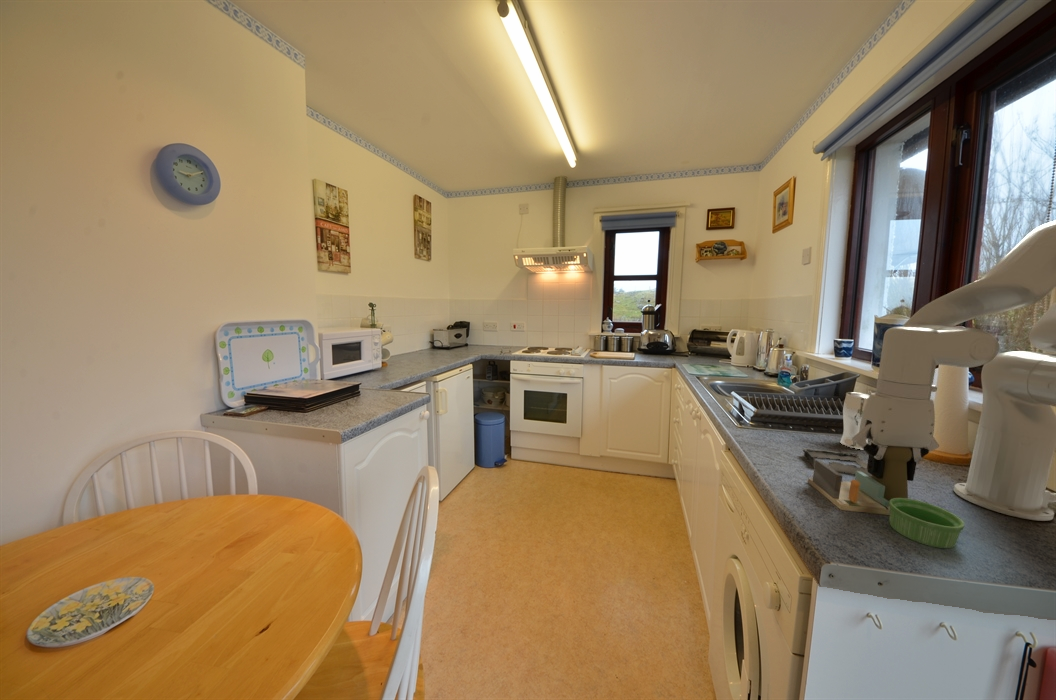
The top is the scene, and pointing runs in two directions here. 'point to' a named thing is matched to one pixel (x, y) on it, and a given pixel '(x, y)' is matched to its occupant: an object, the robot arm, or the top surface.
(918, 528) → the ramekin
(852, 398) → the beer glass
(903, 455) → the cork
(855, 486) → the ball-ended orange rod
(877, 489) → the pad
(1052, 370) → the robot arm
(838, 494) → the stand
